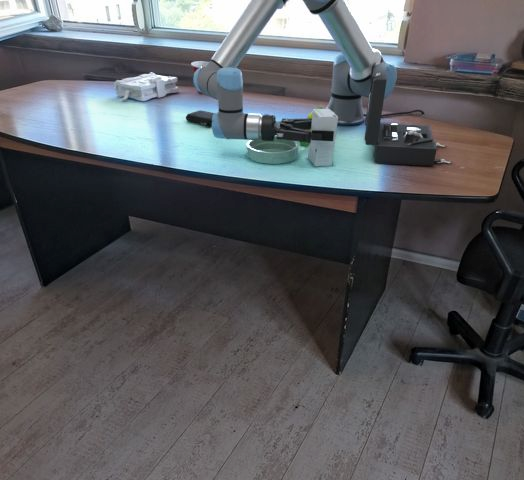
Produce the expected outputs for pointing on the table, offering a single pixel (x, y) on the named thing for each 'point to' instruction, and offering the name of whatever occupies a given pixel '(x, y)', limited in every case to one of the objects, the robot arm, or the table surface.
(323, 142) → the cosmetic box
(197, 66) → the plastic cup
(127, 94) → the white irregular flat block
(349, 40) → the robot arm
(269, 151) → the bowl
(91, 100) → the table surface
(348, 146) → the table surface
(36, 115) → the table surface
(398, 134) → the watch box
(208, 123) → the carrying case
